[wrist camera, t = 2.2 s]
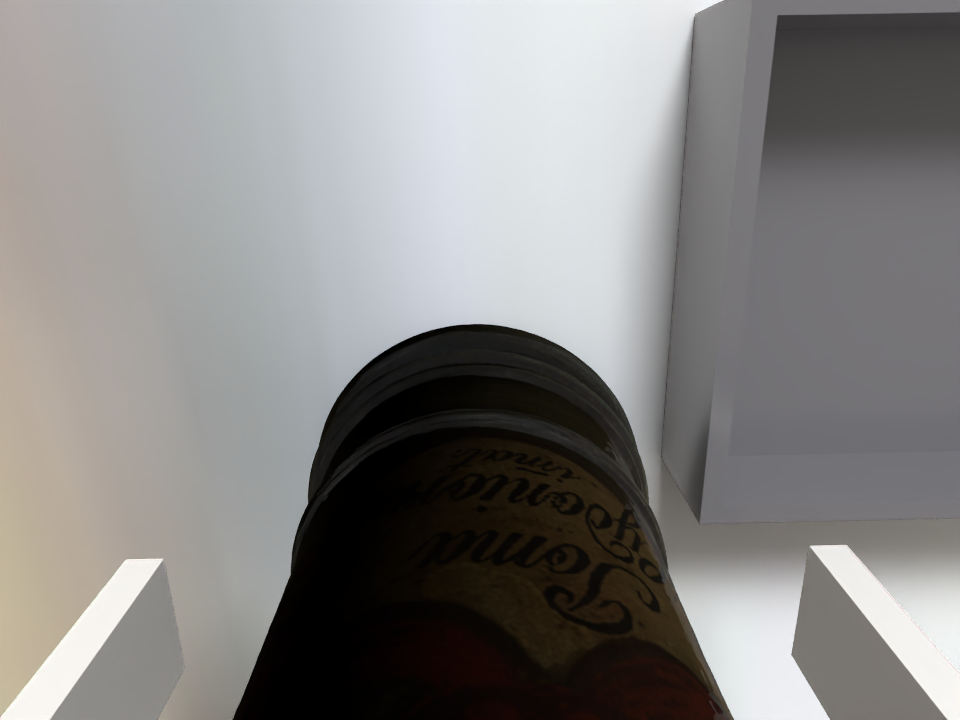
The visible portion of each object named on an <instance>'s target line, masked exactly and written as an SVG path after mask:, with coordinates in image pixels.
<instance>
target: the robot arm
mask: <svg viewBox="0 0 960 720" xmlns="http://www.w3.org/2000/svg"><path fill="white" fill-rule="evenodd" d="M791 655H792V656H793V658H794V660H795V661H796V663H797V665H798V666H799V668H800V670H801V671H802V673H803V675H804V676H805V678H806V680H807V681H808V683H809V685H810V686H811V688H812V690H813V691H814V693H815V695H816V696H817V698H818V700H819V701H820V703H821V705H822V706H823V708H824V710H825V712H826V713H827V715H828V717H829V718H830V720H960V672H959V671H958V670H957V669H956V668H955V667H954V666H953V664H952V663H951V662H950V661H949V660H948V659H947V658H946V657H945V655H944V654H943V653H942V652H941V651H940V650H939V649H938V647H937V646H936V645H935V644H934V643H933V642H932V641H931V640H930V638H929V637H928V636H927V635H926V634H925V633H924V632H923V631H922V629H921V628H920V627H919V626H918V625H917V624H916V623H915V621H914V620H913V619H912V618H911V617H910V616H909V615H908V614H907V612H906V611H905V610H904V609H903V608H902V607H901V606H900V605H899V603H898V602H897V601H896V600H895V599H894V598H893V597H892V596H891V594H890V593H889V592H888V591H887V590H886V589H885V588H884V586H883V585H882V584H881V583H880V582H879V581H878V580H877V579H876V577H875V576H874V575H873V574H872V573H871V572H870V571H869V570H868V568H867V567H866V566H865V565H864V564H863V563H862V562H861V560H860V559H859V558H858V557H857V556H856V555H855V554H854V553H853V551H852V550H851V549H850V548H849V547H848V546H847V545H817V546H809V550H808V556H807V562H806V568H805V574H804V581H803V587H802V593H801V599H800V605H799V611H798V618H797V624H796V630H795V636H794V642H793V648H792V654H791ZM184 668H185V664H184V659H183V654H182V649H181V644H180V639H179V633H178V628H177V623H176V618H175V613H174V608H173V603H172V598H171V593H170V588H169V583H168V577H167V572H166V567H165V562H164V559H126V560H125V561H124V563H123V564H122V565H121V566H120V568H119V569H118V570H117V571H116V573H115V574H114V575H113V576H112V578H111V579H110V580H109V582H108V583H107V584H106V585H105V587H104V588H103V589H102V590H101V592H100V593H99V594H98V595H97V597H96V598H95V599H94V600H93V602H92V603H91V604H90V605H89V607H88V608H87V609H86V611H85V612H84V613H83V614H82V616H81V617H80V618H79V619H78V621H77V622H76V623H75V624H74V626H73V627H72V628H71V629H70V631H69V632H68V633H67V634H66V636H65V637H64V638H63V639H62V641H61V642H60V643H59V645H58V646H57V647H56V648H55V650H54V651H53V652H52V653H51V655H50V656H49V657H48V658H47V660H46V661H45V662H44V663H43V665H42V666H41V667H40V668H39V670H38V671H37V672H36V673H35V675H34V676H33V677H32V679H31V680H30V681H29V682H28V684H27V685H26V686H25V687H24V689H23V690H22V691H21V692H20V694H19V695H18V696H17V697H16V699H15V700H14V701H13V702H12V704H11V705H10V706H9V708H8V709H7V710H6V711H5V713H4V714H3V715H2V716H1V718H0V720H158V718H159V716H160V714H161V712H162V710H163V708H164V706H165V704H166V703H167V701H168V699H169V697H170V695H171V693H172V691H173V689H174V687H175V685H176V684H177V682H178V680H179V678H180V676H181V674H182V672H183V670H184Z"/></svg>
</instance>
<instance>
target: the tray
mask: <svg viewBox="0 0 960 720" xmlns="http://www.w3.org/2000/svg"><path fill="white" fill-rule="evenodd" d="M661 457H662V459H663V461H664V463H665V464H666V466H667V468H668V470H669V471H670V473H671V475H672V477H673V478H674V480H675V482H676V484H677V485H678V487H679V489H680V491H681V492H682V494H683V496H684V497H685V499H686V501H687V503H688V504H689V506H690V508H691V510H692V511H693V513H694V515H695V517H696V518H697V520H698V522H699V524H721V523H765V522H808V521H851V520H895V519H938V518H960V0H723V1H721V2H719V3H717V4H715V5H713V6H711V7H709V8H707V9H705V10H702V11H700V12H698V13H696V14H695V24H694V37H693V50H692V63H691V76H690V89H689V102H688V115H687V128H686V141H685V154H684V167H683V180H682V193H681V206H680V219H679V232H678V245H677V258H676V271H675V284H674V297H673V310H672V323H671V336H670V349H669V362H668V375H667V388H666V401H665V414H664V427H663V440H662V453H661Z"/></svg>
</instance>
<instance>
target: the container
mask: <svg viewBox="0 0 960 720" xmlns="http://www.w3.org/2000/svg"><path fill="white" fill-rule="evenodd" d="M233 720H734V719H733V717H732V715H731V713H730V711H729V709H728V707H727V705H726V702H725V700H724V698H723V696H722V694H721V692H720V690H719V687H718V685H717V683H716V681H715V679H714V676H713V674H712V672H711V670H710V668H709V666H708V664H707V662H706V660H705V657H704V655H703V653H702V650H701V648H700V645H699V643H698V641H697V638H696V636H695V634H694V631H693V629H692V627H691V625H690V623H689V620H688V618H687V616H686V613H685V611H684V608H683V606H682V604H681V602H680V600H679V597H678V595H677V593H676V591H675V588H674V585H673V583H672V580H671V577H670V575H669V573H668V564H667V557H666V552H665V547H664V542H663V538H662V535H661V532H660V528H659V525H658V523H657V520H656V518H655V516H654V514H653V512H652V510H651V508H650V506H649V497H648V487H647V481H646V476H645V471H644V468H643V465H642V461H641V458H640V455H639V453H638V450H637V445H636V442H635V438H634V435H633V432H632V429H631V426H630V424H629V421H628V419H627V417H626V415H625V412H624V410H623V408H622V407H621V405H620V403H619V401H618V400H617V398H616V397H615V395H614V394H613V392H612V391H611V390H610V389H609V387H608V386H607V385H606V384H605V382H604V381H603V380H602V379H601V378H600V377H599V376H598V375H597V373H595V372H594V371H593V370H592V369H591V368H590V367H589V366H588V365H586V364H585V363H584V362H583V361H582V360H580V359H579V358H578V357H577V356H575V355H574V354H572V353H571V352H569V351H568V350H566V349H565V348H563V347H561V346H559V345H557V344H556V343H553V342H551V341H549V340H547V339H545V338H542V337H540V336H537V335H535V334H531V333H528V332H525V331H522V330H518V329H513V328H509V327H504V326H497V325H485V324H470V325H456V326H449V327H444V328H439V329H435V330H431V331H428V332H425V333H421V334H419V335H416V336H413V337H411V338H408V339H406V340H404V341H402V342H400V343H398V344H396V345H394V346H393V347H391V348H389V349H388V350H386V351H384V352H383V353H381V354H380V355H378V356H377V357H376V358H374V359H373V360H372V361H370V362H369V363H368V364H367V365H366V366H365V367H363V368H362V369H361V370H360V371H359V372H358V373H357V374H356V375H355V376H354V378H353V379H352V380H351V381H350V382H349V383H348V385H347V386H346V387H345V388H344V390H343V391H342V392H341V394H340V395H339V397H338V398H337V400H336V402H335V403H334V405H333V407H332V409H331V411H330V413H329V415H328V418H327V420H326V423H325V425H324V429H323V432H322V435H321V439H320V443H319V447H318V450H317V452H316V455H315V458H314V461H313V464H312V468H311V472H310V479H309V489H308V505H307V507H306V509H305V511H304V514H303V516H302V518H301V521H300V523H299V526H298V529H297V533H296V536H295V540H294V545H293V550H292V562H291V576H290V578H289V580H288V583H287V585H286V588H285V591H284V593H283V596H282V599H281V601H280V603H279V606H278V608H277V611H276V614H275V616H274V618H273V621H272V623H271V626H270V628H269V631H268V634H267V636H266V639H265V641H264V644H263V646H262V649H261V651H260V653H259V656H258V658H257V661H256V664H255V667H254V669H253V672H252V674H251V677H250V679H249V682H248V684H247V687H246V689H245V692H244V694H243V697H242V699H241V702H240V704H239V706H238V708H237V710H236V712H235V715H234V718H233Z"/></svg>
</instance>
